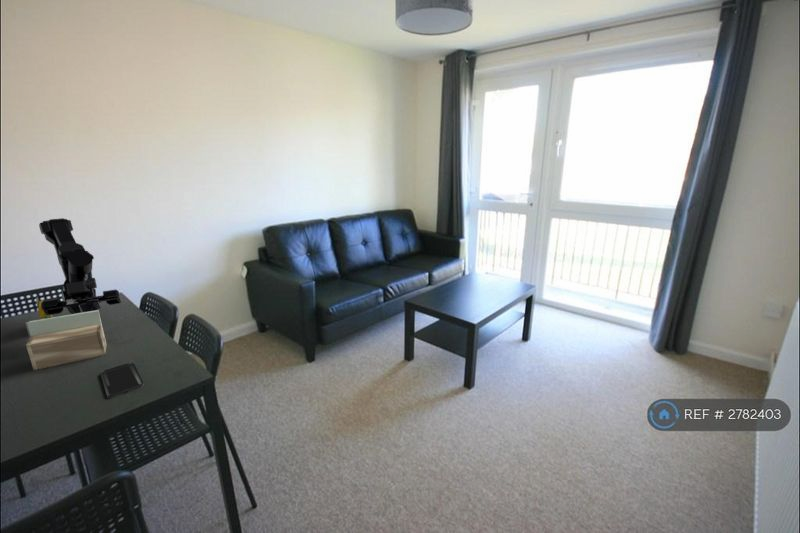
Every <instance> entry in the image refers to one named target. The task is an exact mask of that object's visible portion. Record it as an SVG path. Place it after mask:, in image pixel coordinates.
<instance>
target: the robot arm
mask: <svg viewBox="0 0 800 533" xmlns="http://www.w3.org/2000/svg"><path fill="white" fill-rule="evenodd" d="M38 225H39V231H40V233H41V235H44V238H45V240H46V242H49V243H50V244H52V245H53V247H54V249H55V251H56V252H55V253H56V255H57V260H58V264H59V265H60V267H61V271H62V273H63V276H64V278H65V280H64V282H63V287H62V291H61V297H62V298H61V299H62V301H61V300H60V298H58V297H57V298H56V297H55V298H51V299H43V300H41V301H42V302H41V308H42V310H43V311H44V312H45V314H46V315H53V316H54V315H59V314H62V313H63V312H64V308H65V309H66V310H67V311H68V312H69V313H70V315H71V314H77V313H83V312H89V311H95V310H101V302H106V304H107V305H109V306H112V305H113V306H114V305H118V304H122V297H121V294H120V291H119V290H118V289H111V290H103V291H102V295H97V291H96V289H97V287H98V285H97V282H96V281H97V280H96V278H95V277H93V272H92V271H93V260H94V259H95V258H94V255H93V254H92V253H90V252H89V251H88V250H86V248H85V247H84V246H83V244H80V243H77V242H76V239H75V238H74V236H73V234H72V232H73V231H74V227H73V225H72V221H71V219H67V218H64V217H63V218H52V219H51V218H50V219H49V220H43V221H42V222H39V224H38Z"/></svg>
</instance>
